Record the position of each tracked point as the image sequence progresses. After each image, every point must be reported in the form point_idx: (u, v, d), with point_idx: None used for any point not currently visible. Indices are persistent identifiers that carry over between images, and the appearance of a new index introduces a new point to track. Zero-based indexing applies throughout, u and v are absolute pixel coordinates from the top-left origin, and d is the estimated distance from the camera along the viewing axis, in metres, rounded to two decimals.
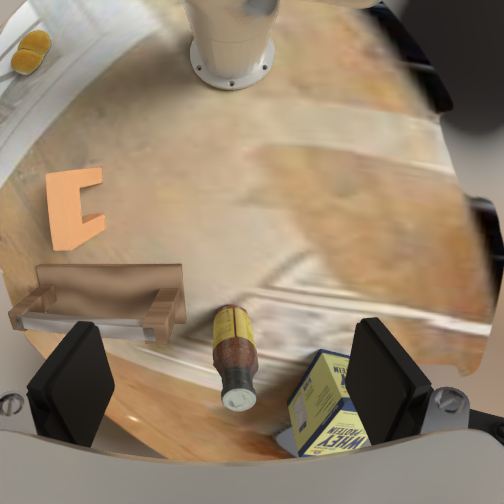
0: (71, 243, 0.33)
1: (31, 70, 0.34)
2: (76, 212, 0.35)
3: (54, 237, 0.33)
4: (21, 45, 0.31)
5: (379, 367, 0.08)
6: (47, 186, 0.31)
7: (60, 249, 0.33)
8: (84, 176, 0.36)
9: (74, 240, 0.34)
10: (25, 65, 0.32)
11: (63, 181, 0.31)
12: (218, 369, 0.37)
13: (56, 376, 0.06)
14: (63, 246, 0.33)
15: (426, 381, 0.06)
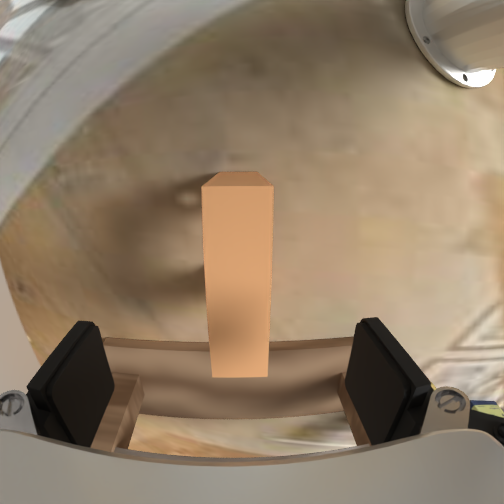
0: (267, 362, 0.15)
1: None
2: None
3: (219, 352, 0.15)
4: None
5: (379, 367, 0.08)
6: (207, 225, 0.13)
7: (233, 375, 0.15)
8: None
9: None
10: None
11: (271, 216, 0.13)
12: None
13: (56, 376, 0.06)
14: (245, 370, 0.15)
15: (426, 380, 0.06)
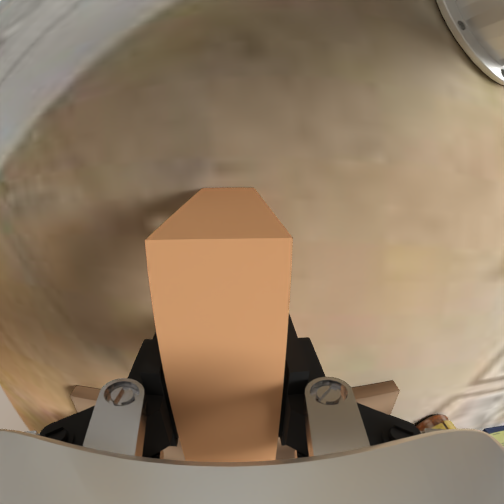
0: None
1: None
2: None
3: None
4: None
5: None
6: (162, 313, 0.06)
7: None
8: None
9: None
10: None
11: (286, 296, 0.06)
12: None
13: None
14: None
15: (304, 367, 0.07)
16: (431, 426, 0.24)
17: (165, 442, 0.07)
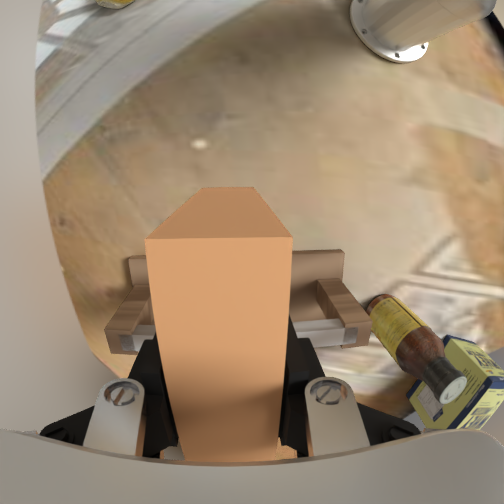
0: None
1: (128, 1, 0.26)
2: None
3: None
4: None
5: None
6: (161, 312, 0.06)
7: None
8: None
9: None
10: None
11: (286, 295, 0.06)
12: (416, 364, 0.29)
13: None
14: None
15: (304, 368, 0.07)
16: (382, 299, 0.41)
17: (165, 442, 0.07)
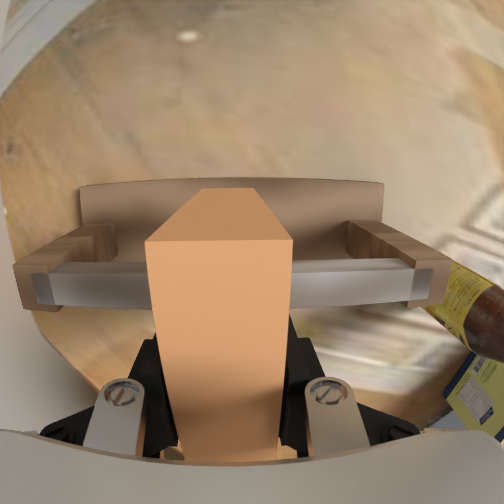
0: None
1: None
2: None
3: None
4: None
5: None
6: (161, 315, 0.06)
7: None
8: None
9: None
10: None
11: (286, 297, 0.06)
12: (499, 336, 0.16)
13: None
14: None
15: (304, 367, 0.07)
16: None
17: (165, 442, 0.07)
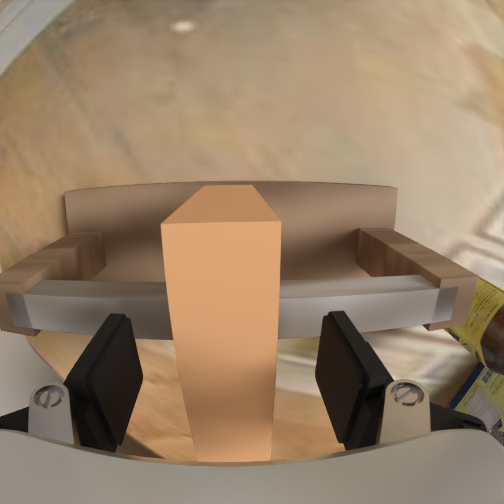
0: (270, 447, 0.10)
1: None
2: None
3: (205, 441, 0.10)
4: None
5: (340, 358, 0.08)
6: (173, 286, 0.08)
7: None
8: None
9: None
10: None
11: (277, 270, 0.08)
12: None
13: (96, 366, 0.07)
14: (241, 457, 0.10)
15: (382, 372, 0.07)
16: None
17: (96, 447, 0.06)
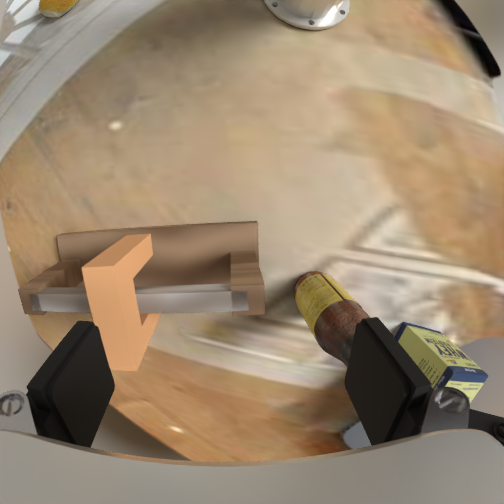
0: (135, 362, 0.24)
1: (64, 9, 0.26)
2: (134, 315, 0.26)
3: (107, 354, 0.24)
4: None
5: (379, 367, 0.08)
6: (87, 286, 0.22)
7: (118, 369, 0.24)
8: (136, 258, 0.28)
9: (137, 355, 0.25)
10: (58, 4, 0.25)
11: (115, 281, 0.22)
12: (333, 341, 0.28)
13: (56, 376, 0.06)
14: (123, 366, 0.24)
15: (426, 381, 0.06)
16: (310, 276, 0.40)
17: None
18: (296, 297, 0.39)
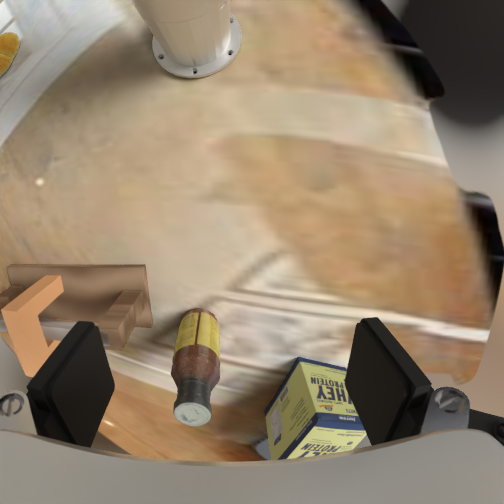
0: None
1: (1, 72, 0.30)
2: (39, 341, 0.31)
3: (23, 365, 0.29)
4: None
5: (379, 367, 0.08)
6: (5, 322, 0.27)
7: (31, 376, 0.29)
8: (41, 299, 0.32)
9: None
10: None
11: (18, 321, 0.27)
12: (175, 379, 0.33)
13: (56, 376, 0.06)
14: (33, 374, 0.29)
15: (426, 380, 0.06)
16: (191, 313, 0.44)
17: None
18: None
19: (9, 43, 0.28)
